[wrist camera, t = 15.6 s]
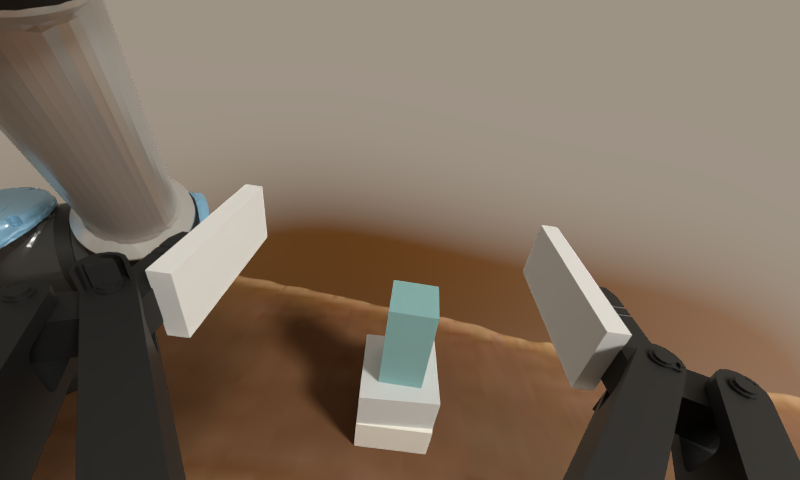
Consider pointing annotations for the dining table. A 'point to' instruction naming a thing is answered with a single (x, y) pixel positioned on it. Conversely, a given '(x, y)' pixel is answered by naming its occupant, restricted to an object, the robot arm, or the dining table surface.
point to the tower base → (392, 437)
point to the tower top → (396, 393)
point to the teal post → (409, 333)
